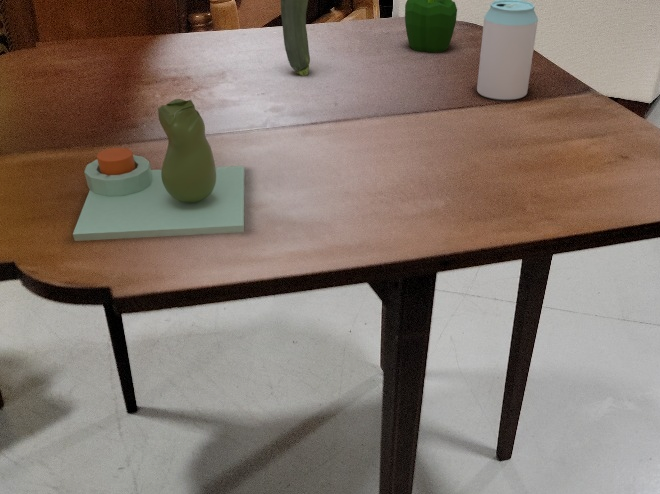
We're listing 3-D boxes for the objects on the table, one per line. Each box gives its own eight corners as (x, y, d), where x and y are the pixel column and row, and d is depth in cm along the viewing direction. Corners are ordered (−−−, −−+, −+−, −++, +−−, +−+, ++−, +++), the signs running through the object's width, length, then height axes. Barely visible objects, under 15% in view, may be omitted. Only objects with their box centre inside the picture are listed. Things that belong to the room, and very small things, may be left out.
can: (480, 104, 101) (490, 10, 93) (472, 87, 106) (481, -3, 99) (531, 104, 101) (545, 10, 93) (520, 87, 106) (533, -3, 99)
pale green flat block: (72, 245, 70) (65, 216, 68) (96, 181, 81) (90, 155, 79) (244, 236, 71) (241, 208, 69) (244, 174, 82) (242, 149, 80)
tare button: (97, 178, 75) (94, 162, 74) (103, 163, 78) (99, 148, 77) (133, 176, 76) (130, 160, 75) (137, 162, 78) (134, 146, 77)
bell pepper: (398, 44, 124) (400, -21, 117) (445, 42, 125) (450, -23, 119) (410, 59, 117) (413, -10, 111) (459, 56, 118) (465, -12, 112)
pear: (226, 204, 74) (215, 105, 68) (176, 216, 72) (159, 115, 66) (207, 183, 78) (194, 88, 71) (158, 194, 76) (141, 97, 69)
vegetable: (281, 79, 109) (272, -76, 96) (287, 70, 112) (279, -81, 100) (310, 80, 108) (305, -75, 96) (316, 72, 112) (311, -80, 99)
